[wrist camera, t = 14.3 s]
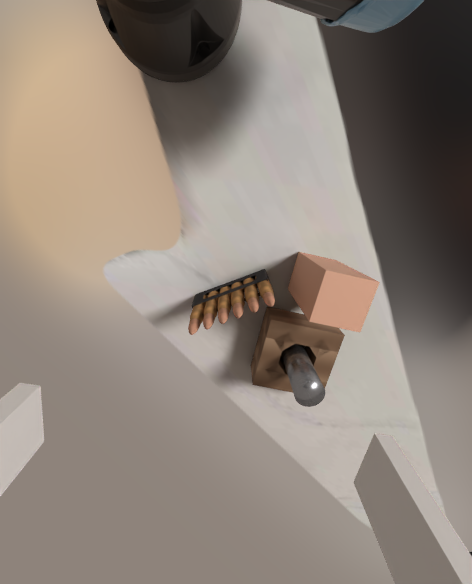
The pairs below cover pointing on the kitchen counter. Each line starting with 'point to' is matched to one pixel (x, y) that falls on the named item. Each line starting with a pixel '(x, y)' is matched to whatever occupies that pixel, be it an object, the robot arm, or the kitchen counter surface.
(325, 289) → the square peg
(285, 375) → the bore block
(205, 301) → the ammunition clip
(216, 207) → the kitchen counter surface
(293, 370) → the round peg
